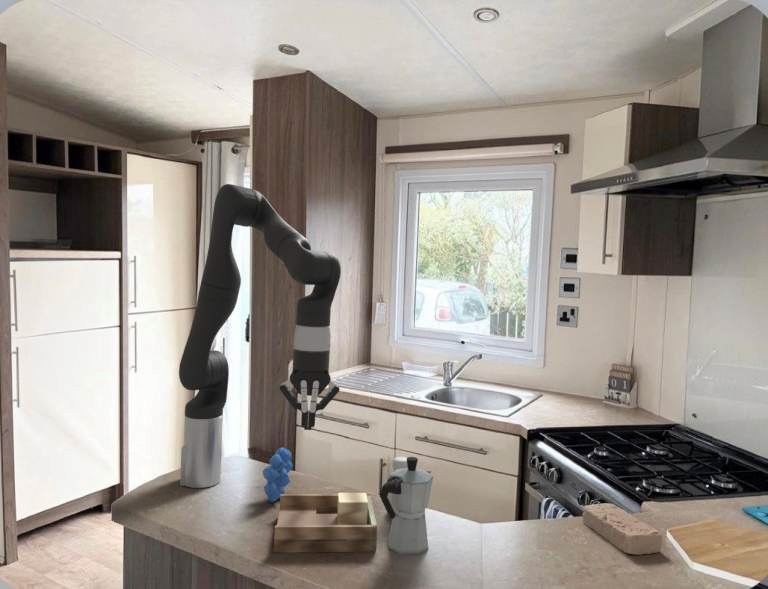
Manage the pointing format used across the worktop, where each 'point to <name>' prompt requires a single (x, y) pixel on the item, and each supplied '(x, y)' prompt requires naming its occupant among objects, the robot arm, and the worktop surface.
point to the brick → (622, 529)
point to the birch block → (352, 509)
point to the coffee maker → (408, 508)
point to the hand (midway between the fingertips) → (307, 428)
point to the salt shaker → (396, 464)
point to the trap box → (320, 526)
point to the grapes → (277, 474)
